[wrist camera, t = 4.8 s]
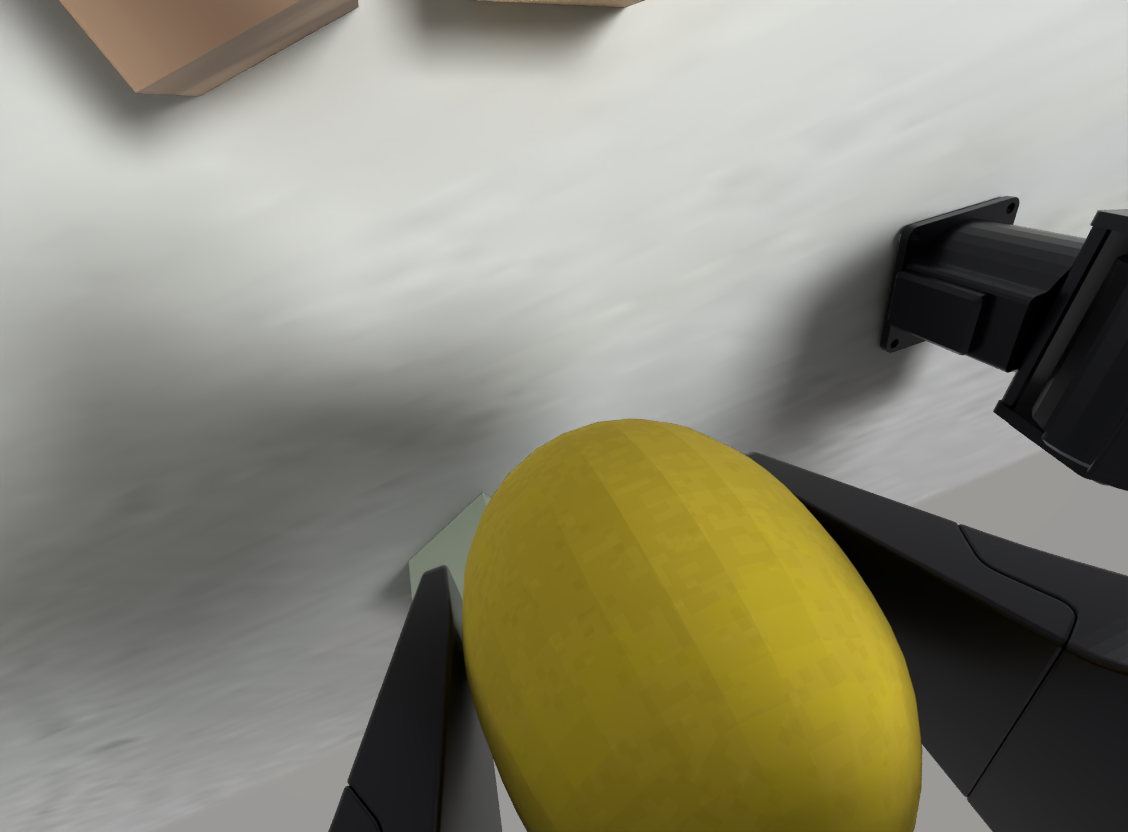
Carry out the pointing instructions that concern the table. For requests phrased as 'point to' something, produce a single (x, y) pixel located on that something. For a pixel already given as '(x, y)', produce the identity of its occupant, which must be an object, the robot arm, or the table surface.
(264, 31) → the walnut block
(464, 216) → the table surface
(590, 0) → the oak block
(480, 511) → the sage block
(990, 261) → the robot arm
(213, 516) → the table surface
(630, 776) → the lemon
